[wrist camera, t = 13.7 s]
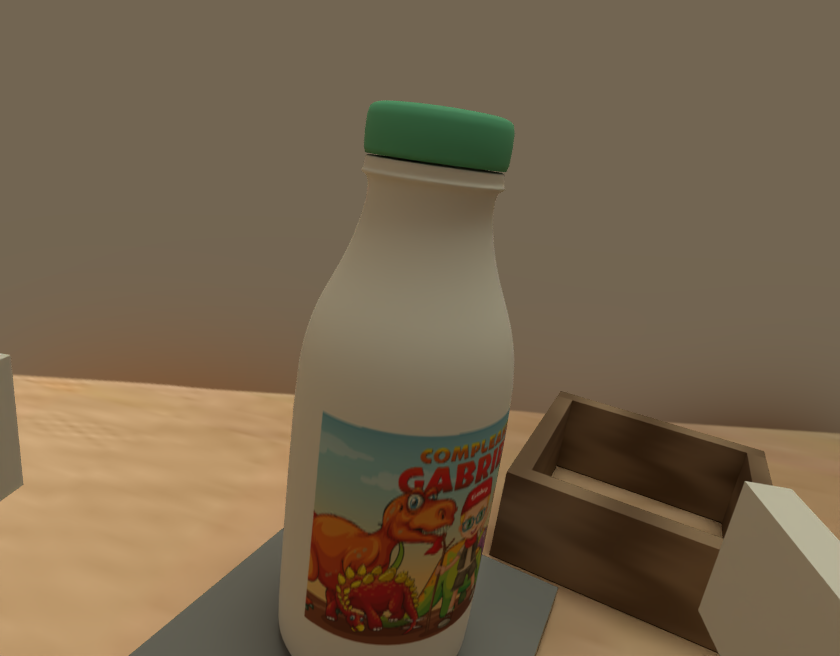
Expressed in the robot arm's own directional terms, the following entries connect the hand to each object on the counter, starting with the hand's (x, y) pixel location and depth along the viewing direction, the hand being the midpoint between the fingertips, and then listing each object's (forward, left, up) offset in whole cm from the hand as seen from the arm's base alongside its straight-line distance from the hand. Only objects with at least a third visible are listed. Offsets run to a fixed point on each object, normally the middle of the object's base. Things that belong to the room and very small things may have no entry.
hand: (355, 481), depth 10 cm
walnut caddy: (-6, -23, -14) cm, 27 cm away
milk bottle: (+3, -9, -13) cm, 16 cm away
